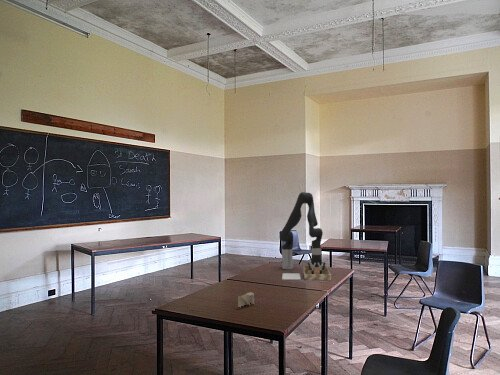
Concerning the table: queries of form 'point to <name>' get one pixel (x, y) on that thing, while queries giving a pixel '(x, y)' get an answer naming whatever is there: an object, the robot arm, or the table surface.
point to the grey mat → (291, 276)
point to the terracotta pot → (316, 270)
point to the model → (246, 299)
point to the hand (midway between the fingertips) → (316, 275)
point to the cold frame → (310, 276)
